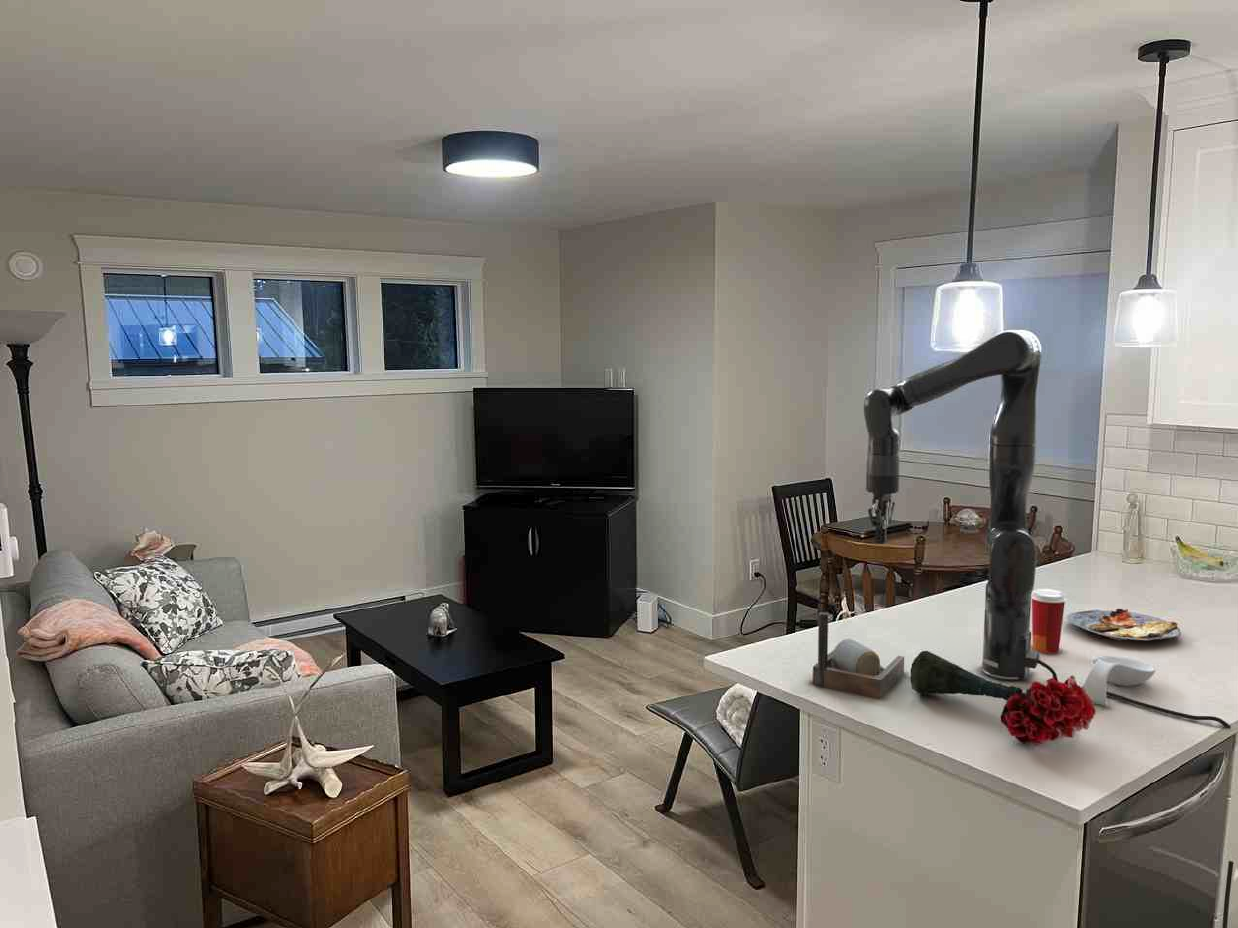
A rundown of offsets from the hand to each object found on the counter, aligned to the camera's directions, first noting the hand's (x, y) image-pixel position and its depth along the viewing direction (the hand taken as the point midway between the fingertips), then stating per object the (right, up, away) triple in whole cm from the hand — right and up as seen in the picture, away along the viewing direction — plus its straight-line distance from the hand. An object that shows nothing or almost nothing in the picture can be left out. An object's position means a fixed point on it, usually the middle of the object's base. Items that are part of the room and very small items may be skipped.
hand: (880, 543), depth 217 cm
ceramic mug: (-10, -28, -17) cm, 34 cm away
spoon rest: (+42, -29, -27) cm, 57 cm away
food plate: (+63, -23, +9) cm, 68 cm away
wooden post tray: (-10, -28, -20) cm, 36 cm away
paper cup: (+38, -25, -3) cm, 46 cm away
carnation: (+10, -31, -42) cm, 53 cm away
